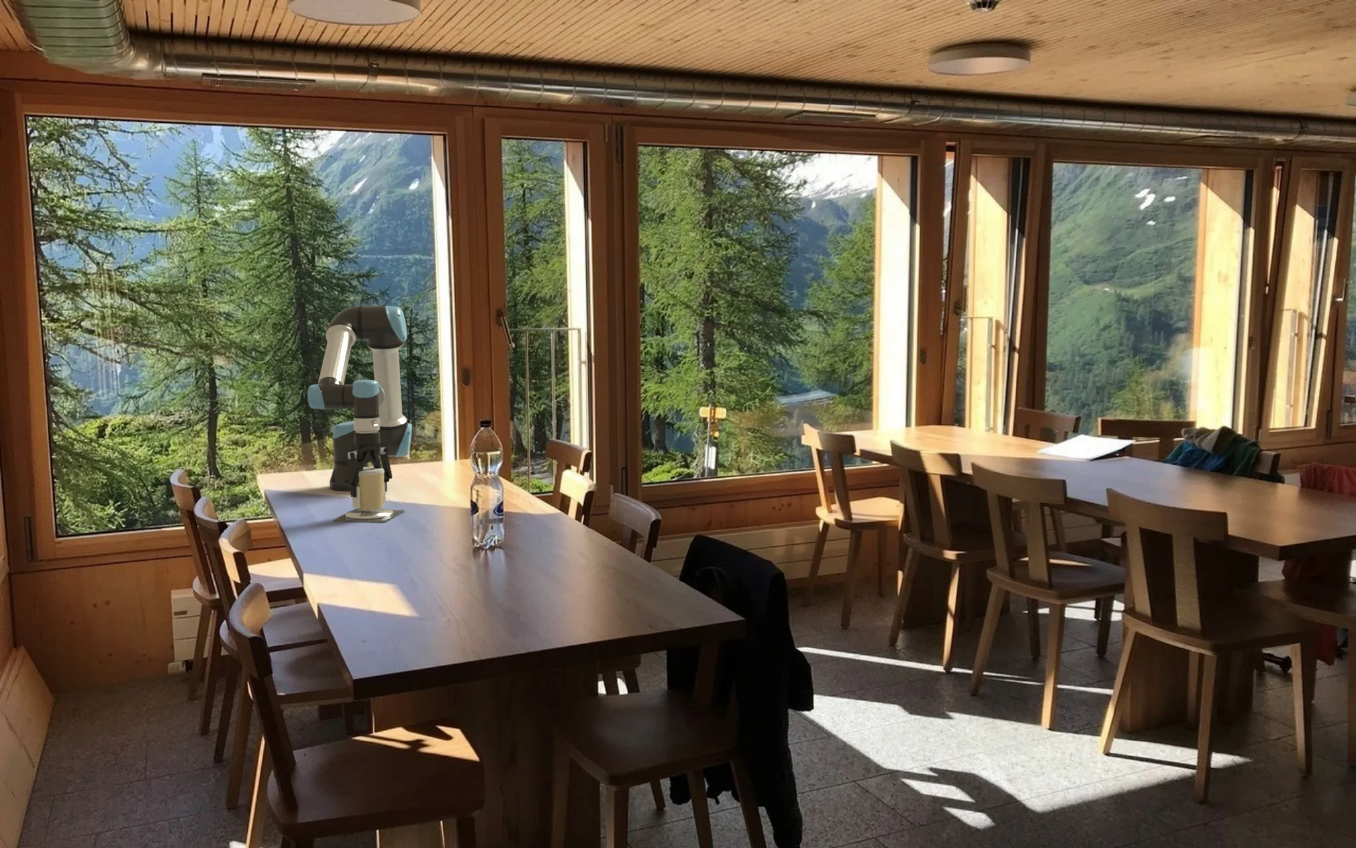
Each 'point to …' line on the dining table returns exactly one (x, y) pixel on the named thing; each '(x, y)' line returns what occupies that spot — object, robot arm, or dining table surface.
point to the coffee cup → (371, 488)
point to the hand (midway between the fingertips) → (369, 505)
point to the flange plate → (369, 515)
